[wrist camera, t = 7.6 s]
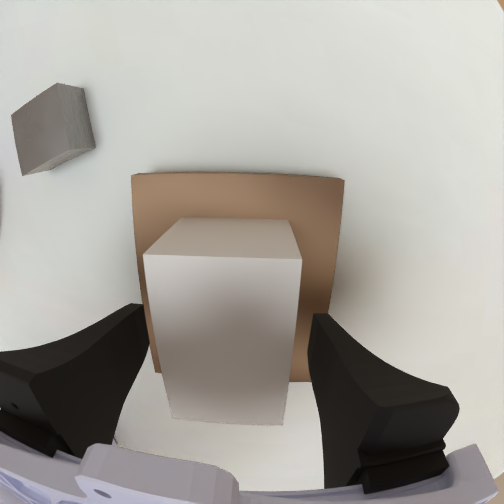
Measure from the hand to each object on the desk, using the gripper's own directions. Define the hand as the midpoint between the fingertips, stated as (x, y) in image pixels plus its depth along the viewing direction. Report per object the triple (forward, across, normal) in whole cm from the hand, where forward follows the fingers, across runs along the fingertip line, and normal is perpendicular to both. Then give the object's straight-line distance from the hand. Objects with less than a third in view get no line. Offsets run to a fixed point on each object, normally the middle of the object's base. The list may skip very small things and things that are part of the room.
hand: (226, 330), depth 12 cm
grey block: (+6, +11, -9) cm, 15 cm away
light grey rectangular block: (+3, 0, 0) cm, 3 cm away
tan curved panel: (+6, 0, 0) cm, 6 cm away
